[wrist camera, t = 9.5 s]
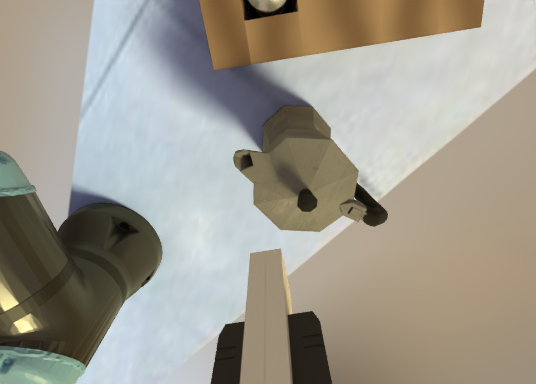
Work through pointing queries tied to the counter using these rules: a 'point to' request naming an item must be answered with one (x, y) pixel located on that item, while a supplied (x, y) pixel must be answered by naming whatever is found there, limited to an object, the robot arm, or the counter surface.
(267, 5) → the metal peg
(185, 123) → the counter surface
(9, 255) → the robot arm
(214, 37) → the socket block
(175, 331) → the counter surface
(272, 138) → the coffeepot
